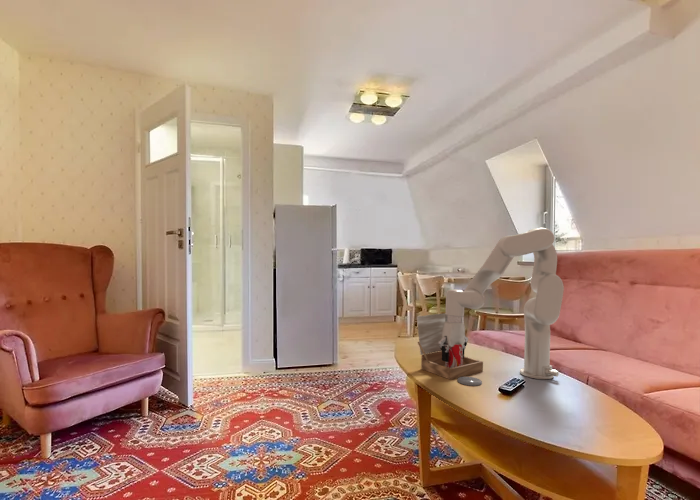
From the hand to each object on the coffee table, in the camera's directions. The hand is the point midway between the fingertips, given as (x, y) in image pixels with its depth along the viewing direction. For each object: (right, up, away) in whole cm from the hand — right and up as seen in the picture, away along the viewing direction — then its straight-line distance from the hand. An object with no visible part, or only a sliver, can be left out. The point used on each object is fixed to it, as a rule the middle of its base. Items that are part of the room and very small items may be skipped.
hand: (453, 359), depth 172 cm
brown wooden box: (-2, -5, +2) cm, 5 cm away
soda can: (0, -5, 0) cm, 5 cm away
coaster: (+3, -5, -14) cm, 15 cm away
